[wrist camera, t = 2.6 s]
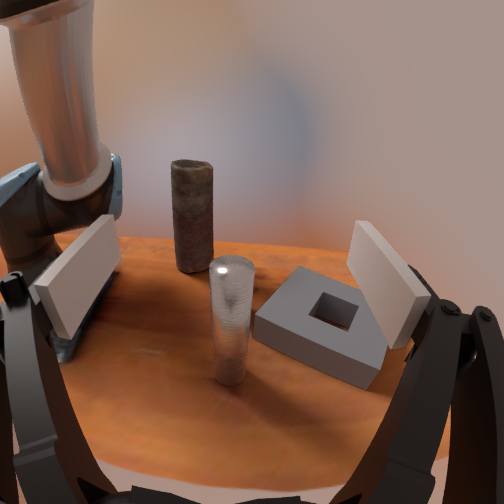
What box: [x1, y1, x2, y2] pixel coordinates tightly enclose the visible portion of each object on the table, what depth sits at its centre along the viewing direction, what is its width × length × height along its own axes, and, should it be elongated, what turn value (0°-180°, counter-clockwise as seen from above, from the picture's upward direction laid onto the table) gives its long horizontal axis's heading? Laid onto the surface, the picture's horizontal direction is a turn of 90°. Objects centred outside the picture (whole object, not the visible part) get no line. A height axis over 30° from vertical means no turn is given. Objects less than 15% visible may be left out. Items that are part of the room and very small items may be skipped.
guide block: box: [252, 266, 388, 390], centre depth 39 cm, size 18×14×5 cm
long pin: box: [209, 255, 255, 386], centre depth 29 cm, size 4×4×17 cm
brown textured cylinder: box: [171, 160, 214, 273], centre depth 48 cm, size 8×7×20 cm
